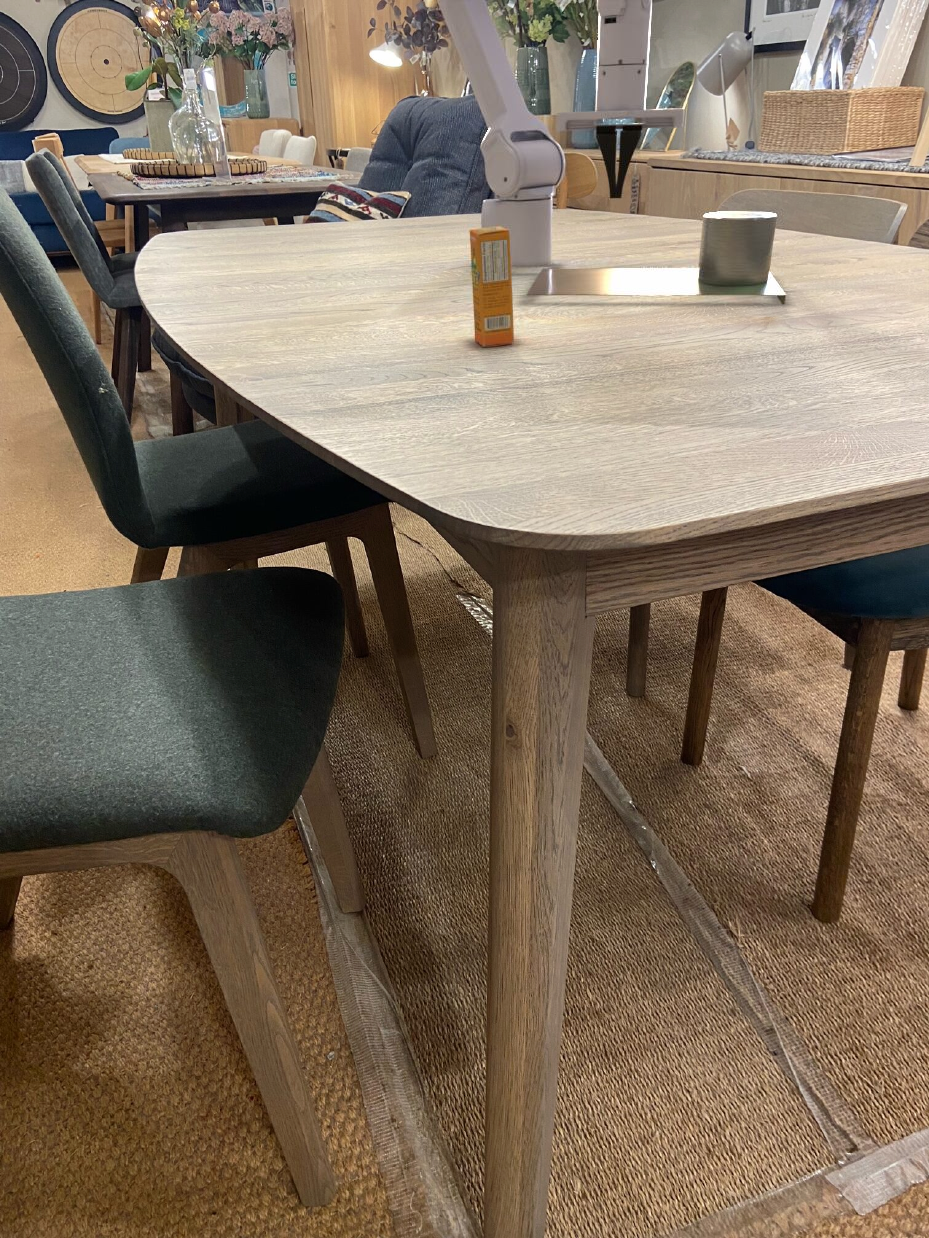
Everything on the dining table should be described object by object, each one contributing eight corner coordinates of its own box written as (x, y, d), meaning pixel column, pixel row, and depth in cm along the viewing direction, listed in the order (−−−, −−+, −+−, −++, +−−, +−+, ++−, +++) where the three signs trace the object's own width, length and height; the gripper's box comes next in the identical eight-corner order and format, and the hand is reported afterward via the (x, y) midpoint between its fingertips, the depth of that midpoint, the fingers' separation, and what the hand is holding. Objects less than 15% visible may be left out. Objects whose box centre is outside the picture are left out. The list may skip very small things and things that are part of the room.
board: (526, 303, 100) (526, 294, 100) (542, 277, 115) (542, 268, 115) (784, 304, 95) (786, 294, 95) (765, 276, 111) (766, 268, 110)
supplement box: (470, 340, 85) (467, 227, 80) (505, 337, 86) (504, 225, 81) (479, 348, 82) (477, 231, 77) (515, 344, 83) (514, 229, 78)
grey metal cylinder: (698, 286, 101) (705, 219, 97) (695, 274, 107) (701, 211, 104) (771, 286, 99) (781, 218, 96) (764, 274, 106) (772, 210, 103)
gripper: (555, 67, 98) (553, 201, 105) (689, 62, 96) (677, 199, 103) (560, 69, 104) (558, 196, 111) (686, 64, 102) (676, 194, 109)
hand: (615, 197), depth 107 cm, fingers closed
